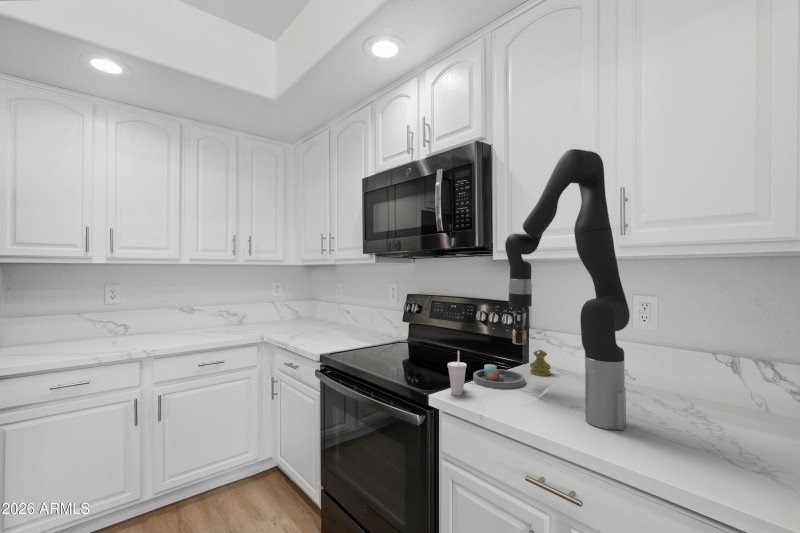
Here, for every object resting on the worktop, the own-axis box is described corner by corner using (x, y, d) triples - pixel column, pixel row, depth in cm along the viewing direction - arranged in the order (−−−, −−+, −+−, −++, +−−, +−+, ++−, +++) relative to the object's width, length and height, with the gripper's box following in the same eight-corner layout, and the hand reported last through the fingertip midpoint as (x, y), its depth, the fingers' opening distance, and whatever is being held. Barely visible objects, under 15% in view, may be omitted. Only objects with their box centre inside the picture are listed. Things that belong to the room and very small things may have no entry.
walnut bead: (496, 387, 127) (496, 374, 127) (484, 384, 130) (484, 372, 130) (501, 383, 131) (501, 371, 131) (489, 381, 134) (489, 369, 134)
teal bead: (498, 377, 139) (498, 365, 139) (493, 380, 135) (493, 367, 135) (487, 375, 142) (487, 363, 142) (482, 378, 138) (482, 366, 138)
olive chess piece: (526, 373, 147) (526, 348, 148) (545, 373, 148) (545, 348, 148) (534, 379, 140) (534, 352, 140) (554, 378, 141) (554, 352, 141)
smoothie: (461, 398, 119) (461, 354, 120) (443, 394, 123) (443, 351, 123) (470, 392, 125) (470, 350, 125) (453, 389, 128) (453, 348, 129)
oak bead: (526, 342, 130) (526, 329, 130) (525, 345, 126) (526, 332, 126) (513, 341, 132) (513, 328, 132) (512, 344, 127) (512, 331, 127)
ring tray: (531, 382, 136) (531, 374, 136) (514, 395, 122) (513, 386, 122) (485, 374, 147) (485, 366, 147) (464, 385, 132) (464, 376, 132)
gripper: (531, 294, 121) (530, 347, 121) (532, 291, 134) (531, 338, 134) (507, 293, 123) (506, 345, 123) (510, 290, 137) (509, 337, 137)
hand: (519, 341), depth 129 cm, fingers closed on oak bead, 4 cm apart
